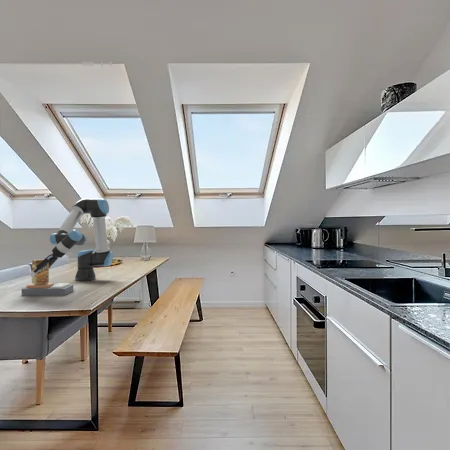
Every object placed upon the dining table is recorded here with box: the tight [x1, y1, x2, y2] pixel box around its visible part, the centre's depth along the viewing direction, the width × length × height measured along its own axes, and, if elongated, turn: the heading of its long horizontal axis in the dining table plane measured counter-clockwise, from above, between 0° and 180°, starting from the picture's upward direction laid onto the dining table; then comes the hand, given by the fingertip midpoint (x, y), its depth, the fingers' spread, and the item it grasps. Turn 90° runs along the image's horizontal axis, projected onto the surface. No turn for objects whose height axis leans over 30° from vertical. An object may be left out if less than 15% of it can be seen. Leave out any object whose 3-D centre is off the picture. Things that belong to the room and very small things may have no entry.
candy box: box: [31, 258, 50, 285], centre depth 221 cm, size 9×4×15 cm, turn 146°
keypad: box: [21, 282, 74, 296], centre depth 222 cm, size 14×26×5 cm, turn 93°
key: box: [26, 282, 55, 288], centre depth 222 cm, size 8×13×2 cm, turn 93°
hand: (35, 274), depth 221 cm, fingers closed on candy box, 9 cm apart
